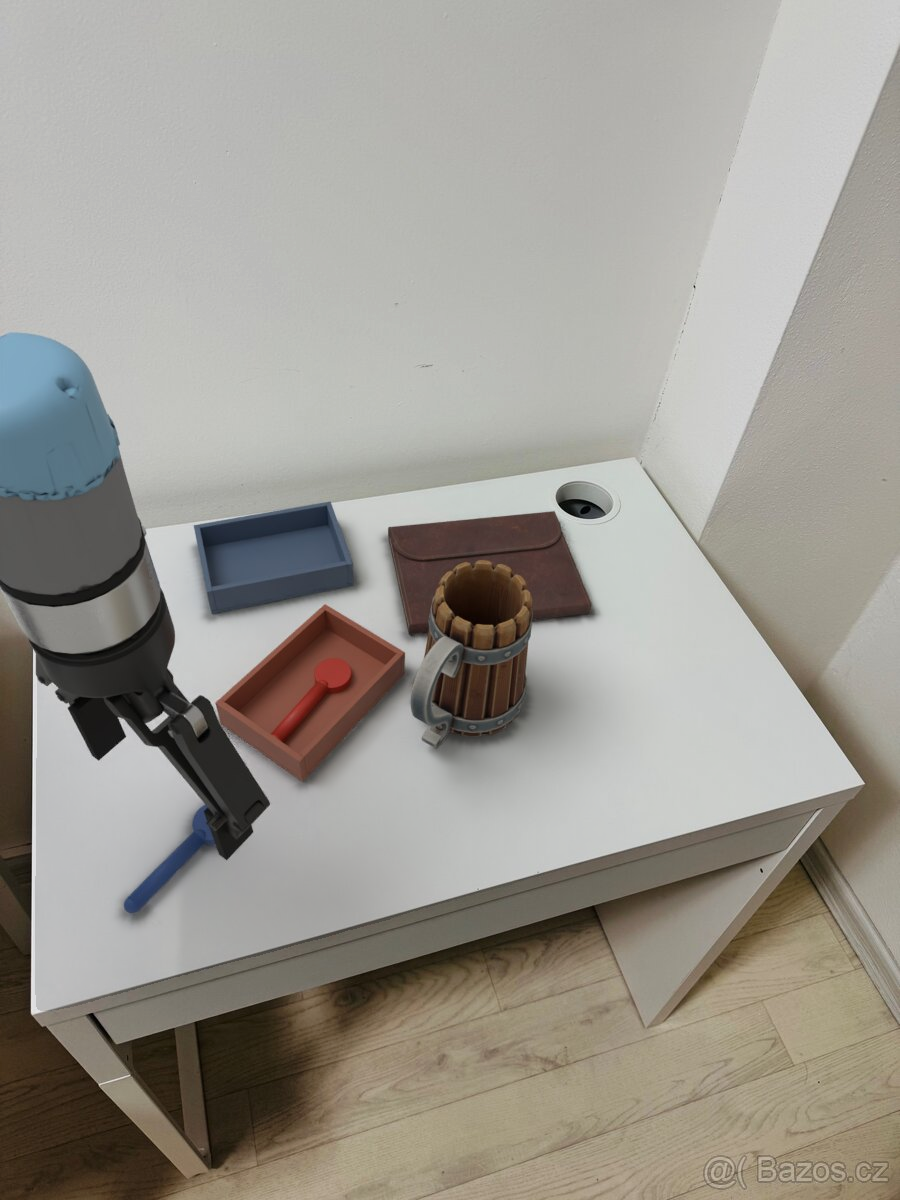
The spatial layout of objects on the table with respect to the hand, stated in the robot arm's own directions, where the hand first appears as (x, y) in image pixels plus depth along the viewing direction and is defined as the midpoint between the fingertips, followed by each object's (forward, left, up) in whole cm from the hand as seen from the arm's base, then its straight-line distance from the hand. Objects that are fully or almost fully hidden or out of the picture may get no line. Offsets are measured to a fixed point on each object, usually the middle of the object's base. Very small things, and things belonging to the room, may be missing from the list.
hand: (170, 793), depth 63 cm
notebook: (+2, +42, -10) cm, 43 cm away
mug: (+10, +25, -10) cm, 29 cm away
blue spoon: (0, -1, -10) cm, 10 cm away
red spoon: (-2, +17, -10) cm, 19 cm away
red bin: (-2, +18, -10) cm, 21 cm away
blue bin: (-17, +29, -10) cm, 35 cm away
